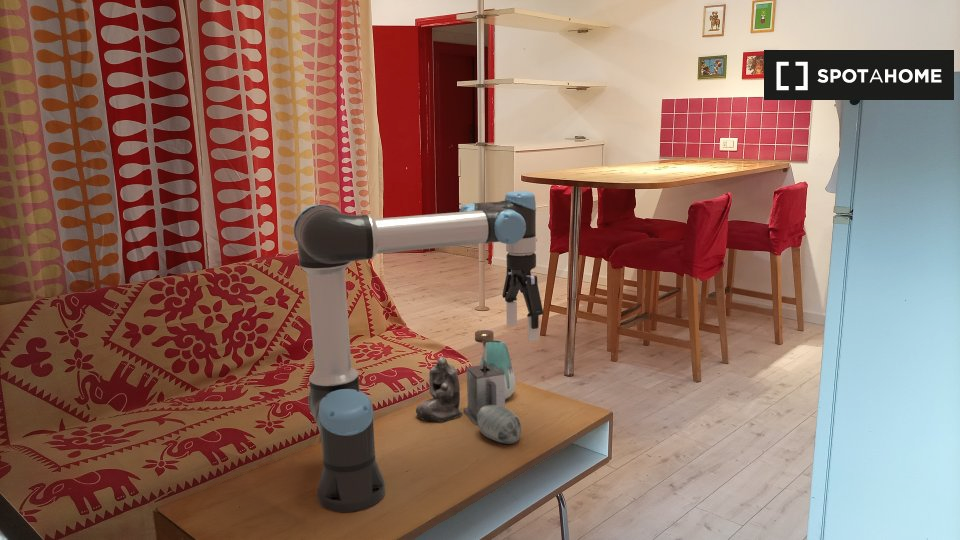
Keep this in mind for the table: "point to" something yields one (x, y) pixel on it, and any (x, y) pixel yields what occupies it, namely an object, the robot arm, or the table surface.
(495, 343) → the vase
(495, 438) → the striped grey egg shape
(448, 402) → the figurine
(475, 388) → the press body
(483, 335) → the plunger
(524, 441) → the table surface
